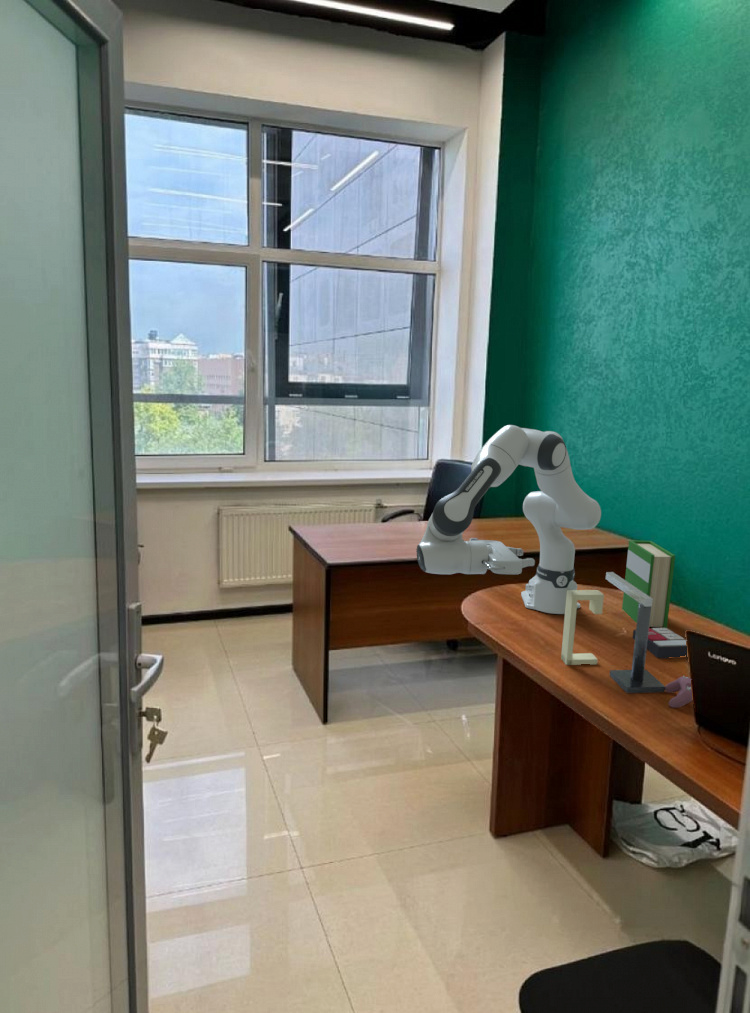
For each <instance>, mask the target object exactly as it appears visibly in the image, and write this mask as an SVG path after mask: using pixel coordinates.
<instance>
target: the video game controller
mask: <svg viewBox="0 0 750 1013" xmlns="http://www.w3.org/2000/svg"><path fill="white" fill-rule="evenodd" d="M691 680H692V679H691V677H688V676H685V675H683V676H680V677H678V678H677V679H675V680H672V681H671V682H669V683H667V684H665V685H664V686H665V692H666V693H670V694H671V693H672V694H673V693H677V694H676V696H674V697H672V698H670V700H669V701H668V706H669V707H670V708H673V709H674V708H681V707H683V706H685V705H687V704H689V703H691V702H692V701H693V700H692V690H691Z"/></svg>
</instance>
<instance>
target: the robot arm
mask: <svg viewBox="0 0 750 1013" xmlns="http://www.w3.org/2000/svg"><path fill="white" fill-rule="evenodd" d="M519 465H520V466H523V467H529V468H533V470H534V476H535V479H536V484H537V486H538V488H539V490H537V491H535V490H534V491H530V492H529V493H528V494H526V496H525V497H524V500H523V503H522V512H523V514H524V517H526V519H527V520H528V521H529V522H530V523H531V524H532V525H533V527H534V529H535V531H536V534H537V536H538V541H539V563H538V565H537V567H536V572H535V575H534V576H533V577H532V578H530V579H529V581H528V583H526V584H525V590H523V591H521V592H520V593H521V594H520V596H521V598H522V601H523V604H524V606H525V608H527V609H530V610H536V611H540V612H542V613H545V614H546V613H547V614H554V615H555V614H556V615H565V606H566V595H567V590H578V584H577V582H576V581H575V580H574V579H575V576H576V575H575V574H576V572H575V570H576V569H575V567H574V564H575V554H576V546H575V544H574V543H573V541H572V540H571V539H570V538H569V537H567V536H566V535H565V534H564V532H563V531H562V528H565V529H571V530H576V531H577V530H578V531H579V530H581V531H583V530H585V531H587V530H592V529H594V528H595V527H596V526H598V524H599V523H600V521H601V517H602V509H601V506H600V503H598V501H597V500H596V499H594V498H592V497H590V496H589V495H588V494H587V493H586V492H584V491H583V489H582V488H581V487H580V485H578V483H577V482H576V480H575V476H574V474H573V471H572V466H571V460H570V455H569V453H568V449H567V445H566V443H565V441H564V439H563V437H562V436H561V435H560V434H559V433H558V432H556V431H552V430H545V431H541V430H538V429H534V428H527V427H520V426H517V425H514V424H507V425H503V427H501V428H500V429H499V430H497V431H496V432H495V433H494V434H493V435H492V436H491V437H489V439H488V440H487V441H486V442H485V443H484V444H483V446H482V447H481V448H480V450H479V451H478V453H477V454H476V456H475V458H474V459H473V462H472V463H471V467H470V469H471V471H470V473H469V474H468V476H467V477H466V478H465V480H464V481H463V482H462V483H461V484H460V485H459V487H458V488H457V489H456V490H455V491H453V492H452V493H449V494H447V495H445V496H443V497H441V499H439V500H438V501H437V502H436V504H435V505H434V508H433V512H432V513H431V515H430V517H429V518H428V521H427V524H426V528H425V531H424V534H423V536H422V538H421V541H420V542H419V543H418V544H417V545H416V549H415V550H416V559H417V563H418V566H419V567H420V569H421V570H422V572H424V573H428V574H434V575H453V574H459V573H460V574H464V575H485V574H486V573H487V571H488V570H490V571H491V572H492V573H494V574H498V575H519V574H520V575H521V574H522V572H523V569H524V568H527V567H534V566H535V564H536V560H535V559H534V558H533V557H526V558H523V559H522V558H519V557H522V556H524V549H522V548H519V547H517V548H516V547H513V546H511V547H510V546H506V545H505V544H504V543H503V542H502V541H499V540H491V539H489V540H488V539H478V538H477V537H471V538H469V540H464V538H463V534H464V532H465V531H466V530H467V529H468V528H469V527H470V525H471V523H472V522H473V518H474V514H475V513H474V511H475V507H476V506H477V504H478V503H479V502H480V500H481V499H482V498H483V496H484V495H485V494H486V493H487V491H488V490H489V489H490V488H497V487H499V486H501V484H503V483H504V482H505V481H506V480H507V479H508V478H509V477H510V476H511V475H512V474H513V473H514V471H515V470H516V468H517V467H518V466H519ZM579 608H581V603H579V602H578V601H577V609H579Z"/></svg>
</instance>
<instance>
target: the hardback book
mask: <svg viewBox="0 0 750 1013" xmlns="http://www.w3.org/2000/svg"><path fill="white" fill-rule="evenodd" d="M627 547H628V548H627V558H626V565H625V566H626V567H625V568H626V569H625V576H624V577H625V578H624V580H626V581H627V582H628V583H630V584H631V585H633V586H634V587H636V588H637V589H639V590H640V591H642V592H643V593H645V594H646V595H648V596H649V597H651V598H652V599H653V601H652V606H651V614H650V623H649V628H650V627H651V628H661V627H662V628H667V629H668V621H669V612H670V606H671V605H670V603H671V596H672V586H673V579H674V572H675V563H676V562H675V561H676V555H675V554H673V553H672V552H671V551H669V550H667V549H665V548H663V547H662V546H660V545H659V544H657V543H656V542H654V541H652V540H628V546H627ZM638 606H639V602H637V601H636V600H634V599H633V598H632V597H630V596H629V595H627V594H626V593H625V592H623V596H622V605H621V610H622V609H623V610H624V611H625V612H626V613H627V614H628V615H629V616H630V617H631V618H630V617H629V618H630V619H632V620H633V621H634V622H635V623H636V624H637V616H638ZM623 610H622V611H623ZM624 611H623V612H624ZM625 612H624V613H625ZM626 613H625V614H626ZM627 614H626V615H627ZM628 615H627V616H628Z"/></svg>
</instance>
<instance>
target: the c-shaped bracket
mask: <svg viewBox="0 0 750 1013" xmlns="http://www.w3.org/2000/svg"><path fill="white" fill-rule="evenodd" d="M604 597H605V594H604V593H603V592H602V591H600V590H598V589H577V590H567V595H566V606H565V614H564V619H563V632H562V644H561V653H560V654H561V655H560V660H561V661H562V660H563V661H562V662H563V664H565V665H566V666H581V664H590V665H598V658H597V656H595V655H594V654H593V653H591V652H588V653H587V652H585V653H574V641H575V632H576V622H577V621H576V618H577V610H578V608H577V602H578V601H589V606H588V609H589V611H590V612H592V614H594V615H603V609H604V608H603V607H604V599H605V598H604Z"/></svg>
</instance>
